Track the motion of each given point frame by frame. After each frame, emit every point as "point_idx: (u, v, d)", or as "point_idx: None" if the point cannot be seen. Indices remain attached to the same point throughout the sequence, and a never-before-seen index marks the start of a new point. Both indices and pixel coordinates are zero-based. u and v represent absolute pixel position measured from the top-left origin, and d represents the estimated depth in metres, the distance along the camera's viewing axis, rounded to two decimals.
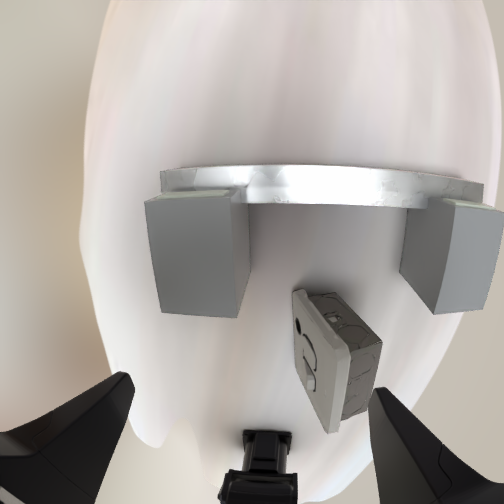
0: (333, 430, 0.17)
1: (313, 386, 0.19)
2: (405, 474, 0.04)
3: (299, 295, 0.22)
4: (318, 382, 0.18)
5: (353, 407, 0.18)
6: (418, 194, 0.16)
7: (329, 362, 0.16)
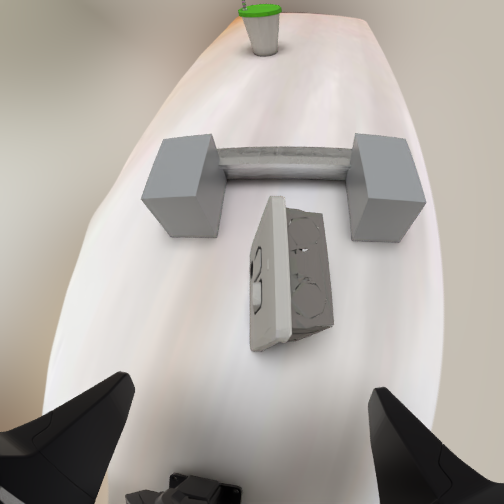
0: (283, 322, 0.14)
1: (260, 295, 0.18)
2: (405, 474, 0.04)
3: None
4: (263, 273, 0.18)
5: (310, 303, 0.16)
6: (340, 158, 0.25)
7: (267, 215, 0.18)
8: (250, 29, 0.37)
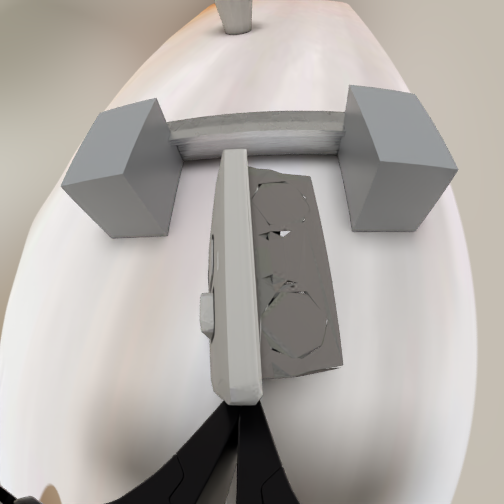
0: (244, 374, 0.07)
1: (212, 314, 0.10)
2: None
3: None
4: (214, 277, 0.10)
5: (298, 330, 0.08)
6: (330, 122, 0.18)
7: (219, 180, 0.10)
8: (220, 5, 0.30)
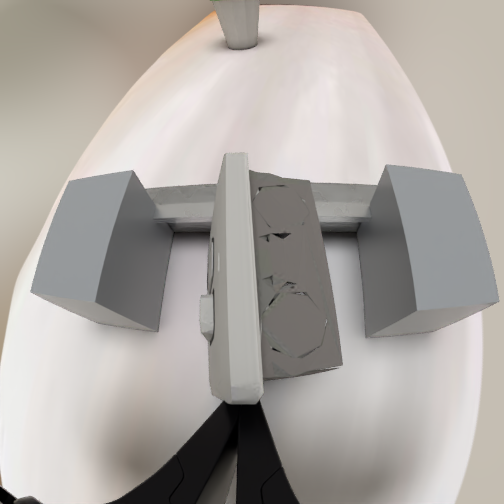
0: (245, 372, 0.07)
1: (211, 316, 0.10)
2: None
3: None
4: (215, 279, 0.10)
5: (298, 330, 0.08)
6: (354, 202, 0.15)
7: (220, 183, 0.11)
8: (222, 16, 0.27)
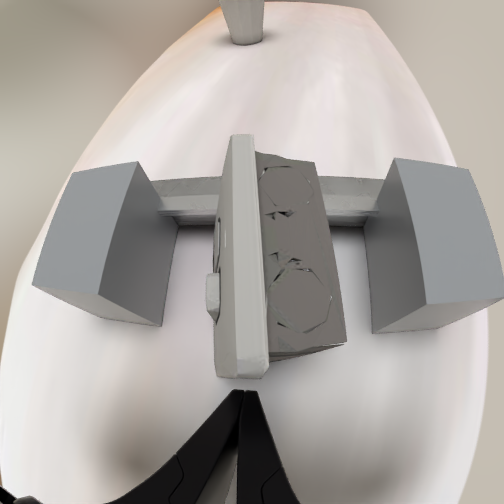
0: (251, 345, 0.07)
1: (217, 293, 0.11)
2: None
3: None
4: (221, 257, 0.11)
5: (303, 305, 0.09)
6: (361, 196, 0.15)
7: (226, 163, 0.11)
8: (227, 11, 0.27)
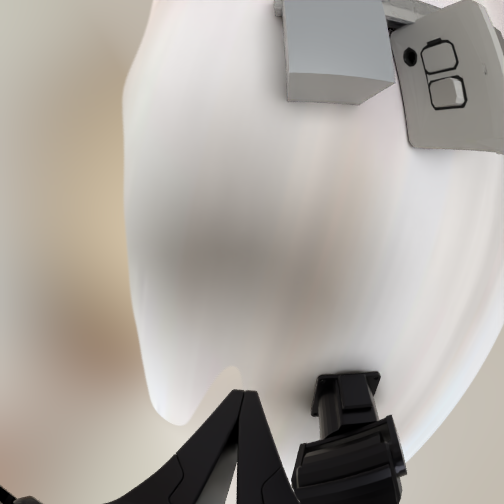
0: None
1: (462, 94, 0.10)
2: None
3: None
4: (468, 72, 0.09)
5: None
6: None
7: (470, 16, 0.06)
8: None
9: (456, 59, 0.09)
